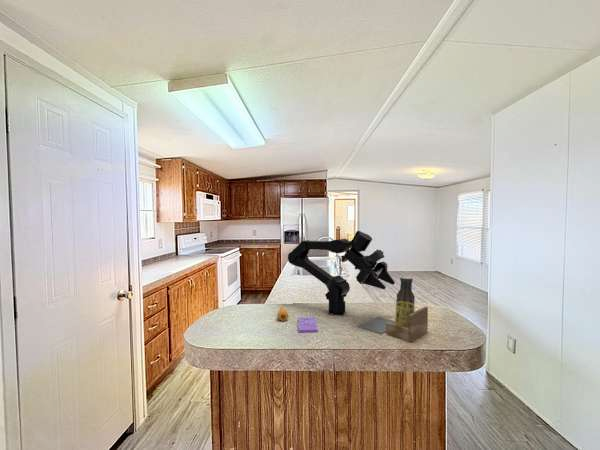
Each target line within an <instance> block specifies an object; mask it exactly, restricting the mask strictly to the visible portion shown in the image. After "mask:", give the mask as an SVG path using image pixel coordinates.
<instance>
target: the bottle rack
mask: <svg viewBox="0 0 600 450" xmlns="http://www.w3.org/2000/svg"><path fill="white" fill-rule="evenodd" d="M428 312H429V307H428V306H422V307H421V308H420V309H418V310H414V312H413V313H411V314H409V323H408V328H407V327H403V326H399V325H396V324H392V323H389V322H387V323H386V332H385V334H386V335H388V336H391V337H395V338H398V339H401V340H403V341H407V342H408V343H413V342H415V341H416V340H418V339H419V338H420V337H422V336H424V335H425V334H427V333H428V327H429V326H428V323H429V322H428V321H429V319H428V318H429V317H428V315H429V313H428Z"/></svg>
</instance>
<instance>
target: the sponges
mask: <svg viewBox="0 0 600 450" xmlns="http://www.w3.org/2000/svg"><path fill="white" fill-rule="evenodd" d="M297 322H298V323H297V325H298V326H297V327H298V330H297V331H298V333H299V332H300V333H299V334H308V333H311V334H312V333H314V334H316V333H319V328H318V324H317V319H316V316H309V317H308V316H305V317H299V316H298V317H297Z"/></svg>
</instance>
